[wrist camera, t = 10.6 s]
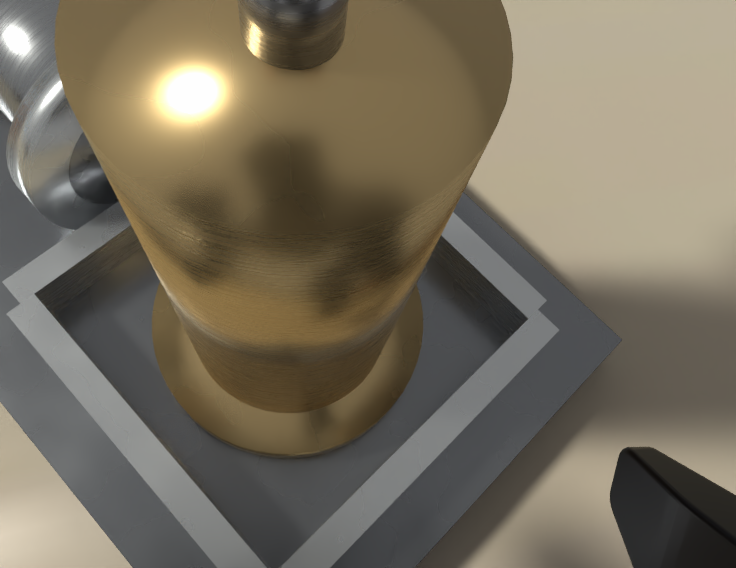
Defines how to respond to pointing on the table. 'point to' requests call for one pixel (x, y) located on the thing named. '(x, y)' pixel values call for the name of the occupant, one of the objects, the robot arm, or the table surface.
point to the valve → (286, 189)
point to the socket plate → (189, 440)
